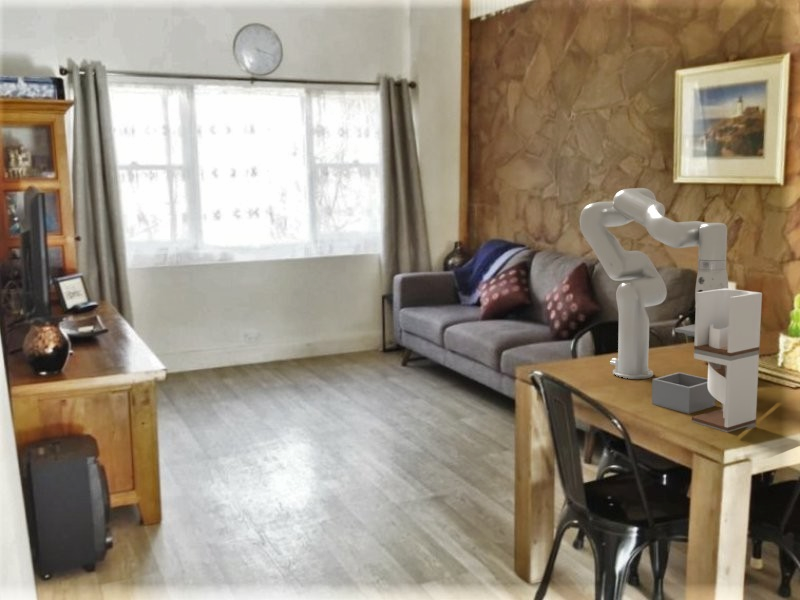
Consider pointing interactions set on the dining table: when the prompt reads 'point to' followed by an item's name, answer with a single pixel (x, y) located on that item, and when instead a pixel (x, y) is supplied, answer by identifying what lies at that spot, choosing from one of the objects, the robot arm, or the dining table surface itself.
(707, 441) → the dining table surface
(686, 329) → the lid
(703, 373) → the dining table surface
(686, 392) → the open box
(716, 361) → the display case
